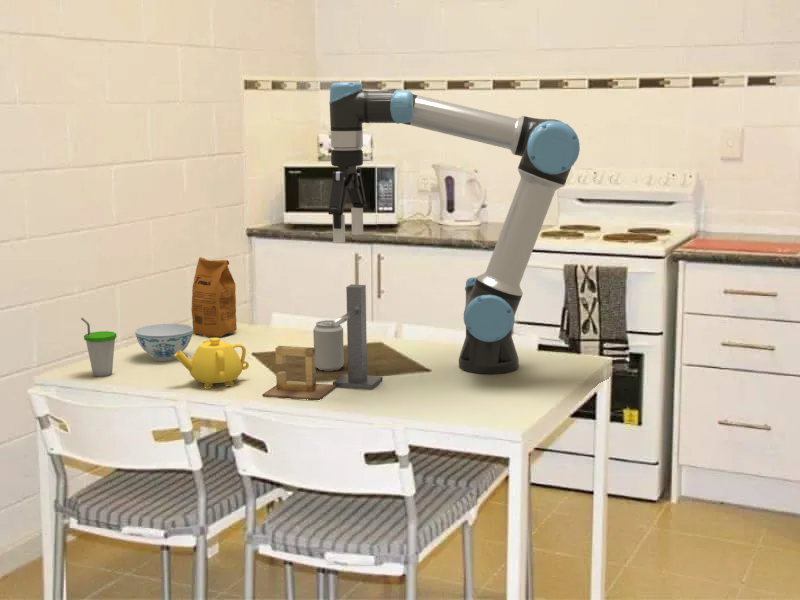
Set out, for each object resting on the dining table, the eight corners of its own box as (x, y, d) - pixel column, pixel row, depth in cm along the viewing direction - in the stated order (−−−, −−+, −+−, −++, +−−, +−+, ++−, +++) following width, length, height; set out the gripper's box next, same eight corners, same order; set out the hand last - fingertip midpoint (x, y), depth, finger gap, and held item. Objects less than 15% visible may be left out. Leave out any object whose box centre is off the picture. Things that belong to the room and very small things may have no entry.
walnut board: (336, 387, 276) (336, 384, 275) (319, 400, 264) (319, 398, 264) (281, 383, 279) (281, 381, 279) (262, 396, 268) (262, 394, 268)
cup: (124, 371, 292) (121, 313, 289) (108, 379, 285) (105, 320, 282) (96, 370, 294) (93, 312, 292) (80, 377, 287) (76, 318, 284)
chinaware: (126, 363, 301) (124, 334, 300) (152, 350, 315) (150, 322, 314) (179, 366, 298) (178, 336, 296) (203, 352, 312) (201, 324, 310)
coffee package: (211, 327, 342) (208, 254, 338) (242, 333, 335) (239, 257, 331) (186, 334, 335) (183, 258, 330) (217, 339, 327) (214, 262, 323)
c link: (316, 389, 272) (315, 347, 270) (312, 391, 270) (311, 350, 268) (280, 386, 274) (279, 345, 272) (276, 389, 272) (275, 348, 270)
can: (339, 372, 289) (338, 325, 287) (310, 371, 291) (309, 324, 289) (347, 365, 297) (346, 319, 294) (318, 363, 298) (317, 318, 296)
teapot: (207, 373, 290) (205, 329, 288) (254, 378, 285) (252, 334, 283) (173, 387, 277) (171, 342, 275) (222, 393, 272) (220, 347, 270)
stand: (382, 381, 281) (381, 283, 276) (356, 403, 262) (354, 299, 257) (343, 378, 283) (341, 282, 279) (315, 400, 265) (312, 297, 260)
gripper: (348, 145, 285) (350, 231, 289) (313, 152, 261) (315, 245, 265) (377, 145, 283) (379, 231, 287) (344, 152, 259) (346, 246, 263)
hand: (348, 238), depth 276 cm, fingers open, 13 cm apart
